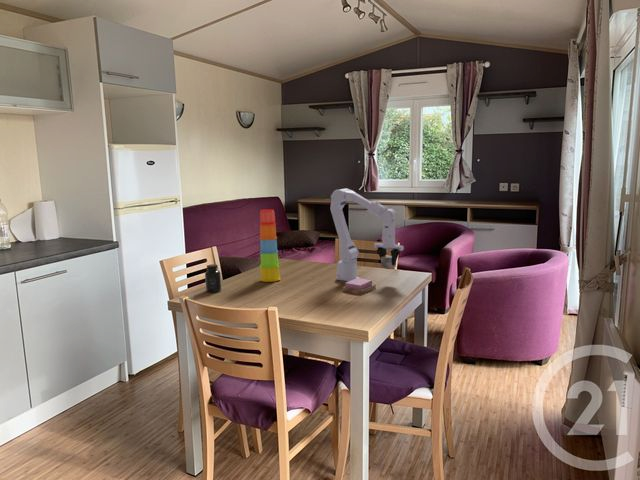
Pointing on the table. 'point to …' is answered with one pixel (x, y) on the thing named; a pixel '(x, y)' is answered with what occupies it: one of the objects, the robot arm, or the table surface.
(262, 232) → the stacking cups
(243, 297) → the table surface
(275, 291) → the table surface
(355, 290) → the walnut base block
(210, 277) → the supplement bottle
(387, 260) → the slate cube
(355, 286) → the plum top block
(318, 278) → the table surface
